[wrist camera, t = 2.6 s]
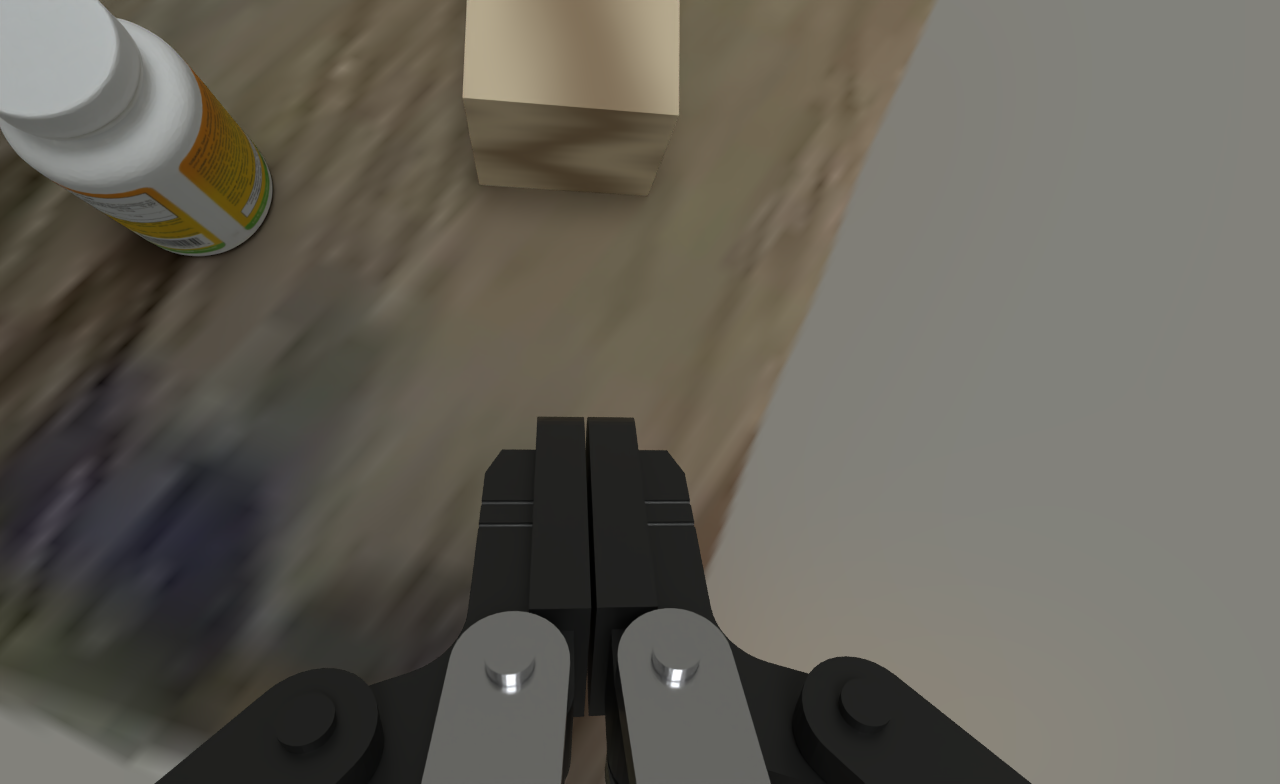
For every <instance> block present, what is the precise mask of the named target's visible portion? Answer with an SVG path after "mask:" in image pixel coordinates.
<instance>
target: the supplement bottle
mask: <svg viewBox="0 0 1280 784" xmlns="http://www.w3.org/2000/svg"><path fill="white" fill-rule="evenodd" d="M0 128H1V130H2V132H3V134H4V136H5V138H6V139H7V141H8V142H9V144H10V145H11V147H12V148H13V149H14V150H15V151H16V153H17V154H18V155H19V156H20V157H21V158H22V159H23V160H24V161H25V162H26V163H28V164H29V165H30V166H32V167H33V168H34V169H36V170H37V171H38V172H40V173H41V174H43V175H44V176H45V177H47V178H48V179H50V180H52V181H53V182H55V183H56V184H58V185H60V186H61V187H63V188H64V189H66V190H68V191H69V192H71V193H72V194H74V195H76V196H77V197H79V198H80V199H82V200H84V201H85V202H87V203H88V204H90V205H92V206H93V207H95V208H96V209H98V210H99V211H101V212H103V213H104V214H106V215H107V216H109V217H110V218H112V219H114V220H115V221H117V222H118V223H120V224H122V225H123V226H125V227H126V228H128V229H130V230H131V231H133V232H134V233H136V234H138V235H139V236H141V237H142V238H144V239H146V240H147V241H149V242H151V243H153V244H155V245H157V246H159V247H161V248H163V249H165V250H167V251H170V252H173V253H177V254H182V255H188V256H208V255H214V254H219V253H222V252H226V251H228V250H230V249H233V248H235V247H237V246H238V245H240V244H241V243H243V242H244V241H246V240H247V239H248V238H249V237H251V236H252V235H253V234H254V233H255V232H256V230H257V229H258V228H259V227H260V225H261V224H262V222H263V221H264V219H265V217H266V215H267V213H268V210H269V207H270V204H271V199H272V179H271V175H270V171H269V168H268V166H267V164H266V161H265V160H264V158H263V156H262V155H261V153H260V152H259V150H258V149H257V147H256V146H255V145H254V143H253V142H252V141H251V140H250V138H249V137H248V136H247V135H246V133H245V132H244V131H243V130H242V129H241V128H240V127H239V126H238V124H237V123H236V122H235V121H234V119H233V118H232V117H231V116H230V115H229V113H228V112H227V111H226V110H225V109H224V107H223V106H222V105H221V104H220V102H219V101H218V100H217V99H216V98H215V96H214V95H213V94H212V93H211V92H210V90H209V89H208V88H207V86H206V85H205V84H204V83H203V82H202V81H201V79H200V78H199V77H198V76H197V75H196V74H195V72H194V71H193V70H192V69H191V68H190V66H189V65H188V64H187V63H186V62H185V61H184V60H183V59H182V57H181V56H180V55H179V54H178V53H177V52H176V51H175V50H174V49H173V48H172V47H171V46H170V45H168V44H167V43H166V42H165V41H164V40H162V39H161V38H160V37H158V36H157V35H155V34H154V33H152V32H150V31H149V30H147V29H145V28H143V27H141V26H139V25H137V24H134V23H132V22H129V21H126V20H123V19H119V18H115V17H114V16H113V15H112V14H111V13H110V12H109V11H108V10H107V9H106V8H105V6H104V5H103V4H102V3H101V2H100V1H99V0H0Z"/></svg>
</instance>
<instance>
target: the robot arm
mask: <svg viewBox="0 0 1280 784" xmlns="http://www.w3.org/2000/svg"><path fill="white" fill-rule="evenodd" d="M587 675H588V708H589V716H600V715H605V719H606V739H607V755H606V764H605V781H606V784H1031V783H1030V782H1029V781H1027V780H1026V779H1025V778H1024V777H1023V776H1021V775H1020V774H1019V773H1017V772H1016V771H1015V770H1014V769H1013V768H1011V767H1010V766H1009V765H1007V764H1006V763H1005V762H1004V761H1002V760H1001V759H1000V758H999V757H997V756H996V755H995V754H994V753H992V752H991V751H990V750H989V749H987V748H986V747H985V746H984V745H982V744H981V743H980V742H978V741H977V740H976V739H975V738H973V737H972V736H971V735H970V734H969V733H967V732H966V731H965V730H963V729H962V728H961V727H960V726H958V725H957V724H956V723H955V722H953V721H952V720H951V719H950V718H948V717H947V716H946V715H945V714H943V713H942V712H941V711H940V710H938V709H937V708H936V707H935V706H933V705H932V704H931V703H930V702H928V701H927V700H926V699H924V698H923V697H922V696H921V695H919V694H918V693H917V692H916V691H914V690H913V689H912V688H911V687H909V686H908V685H907V684H906V683H904V682H903V681H902V680H901V679H899V678H898V677H897V676H896V675H894V674H893V673H891V672H890V671H888V670H887V669H886V668H884V667H882V666H880V665H878V664H876V663H874V662H871V661H868V660H866V659H861V658H857V657H847V656H845V657H836V658H832V659H828V660H826V661H824V662H822V663H820V664H819V665H817V666H816V667H815V668H814V669H813V670H812V671H811V672H810V673H809V674H808V673H804V672H801V671H797V670H794V669H790V668H787V667H783V666H779V665H776V664H772V663H768V662H766V661H763V660H760V659H757V658H755V657H753V656H751V655H749V654H747V653H746V652H744V651H743V650H741V649H740V648H738V647H737V646H736V645H735V644H733V643H732V642H731V641H730V640H729V639H728V638H727V637H726V636H725V634H724V633H723V632H722V631H721V629H720V628H719V626H718V625H717V623H716V621H715V618H714V616H713V613H712V610H711V606H710V601H709V596H708V591H707V585H706V580H705V575H704V570H703V565H702V560H701V555H700V550H699V544H698V539H697V534H696V529H695V527H694V519H693V514H692V509H691V505H690V498H689V493H688V488H687V483H686V478H685V473H684V472H683V471H682V469H681V468H680V467H679V465H678V464H677V463H676V462H675V460H674V459H673V458H672V456H671V455H670V454H669V453H668V451H667V450H638V443H637V435H636V427H635V421H634V418H620V417H588V418H587V429H586V448H585V428H584V417H537V437H536V450H501V452H500V453H499V455H498V456H497V457H496V459H495V460H494V462H493V463H492V464H491V466H490V467H489V468H488V470H487V471H486V473H485V479H484V487H483V495H482V506H481V511H480V519H479V528H478V535H477V543H476V551H475V559H474V567H473V575H472V583H471V591H470V599H469V608H468V614H467V619H466V622H465V625H464V627H463V630H462V631H461V633H460V635H459V636H458V638H457V640H456V641H455V642H454V643H453V644H452V646H451V647H450V648H449V649H448V650H447V651H446V652H445V653H443V654H442V655H441V656H440V657H438V658H437V659H436V660H434V661H433V662H431V663H429V664H428V665H426V666H424V667H422V668H420V669H417V670H415V671H412V672H410V673H407V674H404V675H401V676H398V677H395V678H392V679H389V680H386V681H382V682H379V683H376V684H373V685H370V686H368V685H367V684H366V683H365V682H364V681H363V680H362V679H361V678H359V677H358V676H356V675H355V674H353V673H350V672H347V671H345V670H340V669H334V668H321V669H314V670H309V671H305V672H301V673H298V674H296V675H293V676H291V677H289V678H287V679H285V680H283V681H281V682H279V683H278V684H276V685H275V686H273V687H272V688H271V689H269V690H268V691H267V692H265V693H264V694H263V695H262V696H260V697H259V698H258V699H257V700H256V701H254V702H253V703H252V704H251V705H250V706H248V707H247V708H246V709H245V710H243V711H242V712H241V713H240V714H239V715H237V716H236V717H235V718H234V719H233V720H231V721H230V722H229V723H228V724H227V725H225V726H224V727H223V728H222V729H220V730H219V731H218V732H217V733H216V734H214V735H213V736H212V737H211V738H210V739H208V740H207V741H206V742H205V743H203V744H202V745H201V746H200V747H199V748H197V749H196V750H195V751H194V752H193V753H191V754H190V755H189V756H188V757H187V758H185V759H184V760H183V761H182V762H180V763H179V764H178V765H177V766H176V767H174V768H173V769H172V770H171V771H170V772H168V773H167V774H166V775H165V776H163V777H162V778H161V779H160V780H159V781H157V782H156V783H155V784H565V779H566V777H567V774H568V771H569V767H570V761H571V745H572V727H573V717H582V716H584V706H585V691H586V677H587Z"/></svg>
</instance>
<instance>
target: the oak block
mask: <svg viewBox="0 0 1280 784" xmlns="http://www.w3.org/2000/svg"><path fill="white" fill-rule="evenodd" d="M463 102H464V108H465V113H466V118H467V123H468V129H469V134H470V139H471V144H472V150H473V155H474V160H475V165H476V171H477V176H478V181H479V185H487V186H503V187H518V188H533V189H548V190H563V191H578V192H594V193H609V194H624V195H639V196H648V195H649V192H650V189H651V187H652V184H653V182H654V179H655V176H656V174H657V171H658V169H659V166H660V163H661V161H662V158H663V156H664V153H665V150H666V148H667V145H668V143H669V140H670V137H671V135H672V132H673V130H674V127H675V124H676V122H677V119H678V117H679V0H467V12H466V34H465V56H464V78H463Z"/></svg>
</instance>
